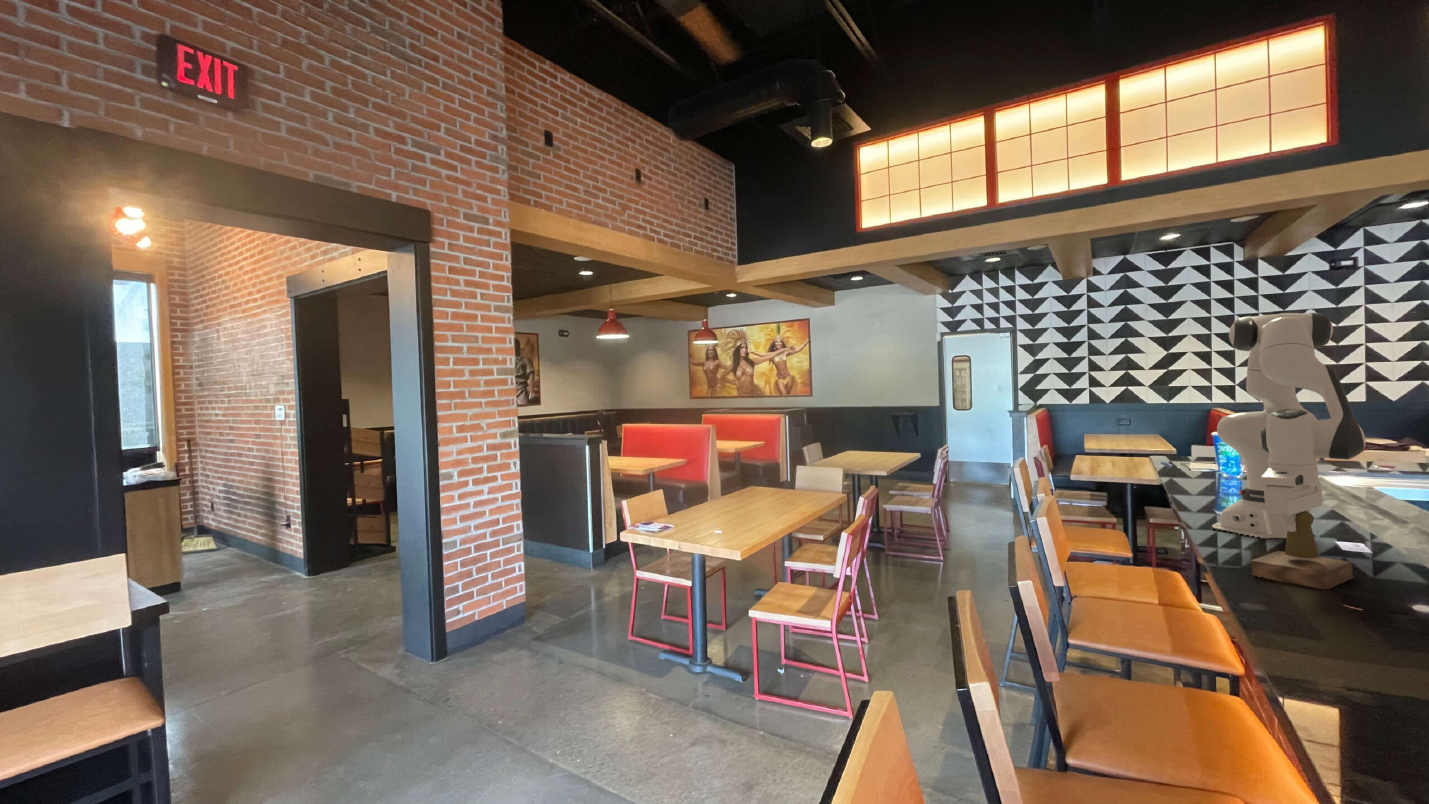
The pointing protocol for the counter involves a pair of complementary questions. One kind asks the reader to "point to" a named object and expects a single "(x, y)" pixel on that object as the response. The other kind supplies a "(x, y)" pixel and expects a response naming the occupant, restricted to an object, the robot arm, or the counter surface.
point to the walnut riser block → (1302, 570)
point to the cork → (1302, 538)
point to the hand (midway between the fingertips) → (1297, 529)
